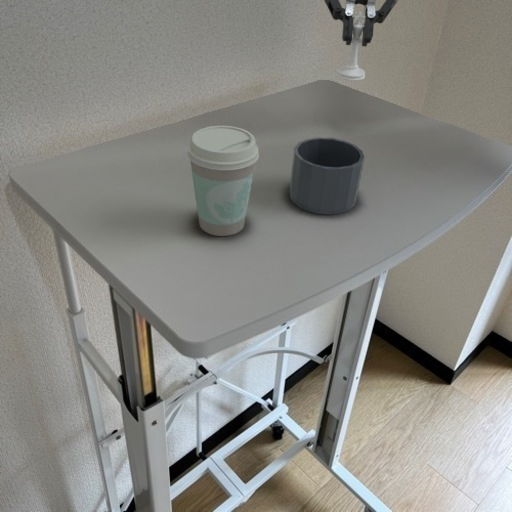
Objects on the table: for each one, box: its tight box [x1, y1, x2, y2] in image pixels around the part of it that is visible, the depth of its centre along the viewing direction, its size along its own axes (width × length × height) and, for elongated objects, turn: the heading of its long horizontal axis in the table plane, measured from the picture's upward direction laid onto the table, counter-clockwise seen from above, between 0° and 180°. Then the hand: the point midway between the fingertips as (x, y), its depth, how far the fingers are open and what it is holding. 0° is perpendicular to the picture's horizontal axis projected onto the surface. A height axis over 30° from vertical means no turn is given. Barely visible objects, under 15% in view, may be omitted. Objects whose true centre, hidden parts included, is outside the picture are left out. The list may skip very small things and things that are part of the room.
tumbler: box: [289, 136, 365, 216], centre depth 76 cm, size 9×9×7 cm
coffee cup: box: [186, 125, 260, 237], centre depth 68 cm, size 8×8×12 cm
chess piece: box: [335, 11, 366, 81], centre depth 89 cm, size 5×5×10 cm
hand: (357, 42), depth 87 cm, fingers closed on chess piece
